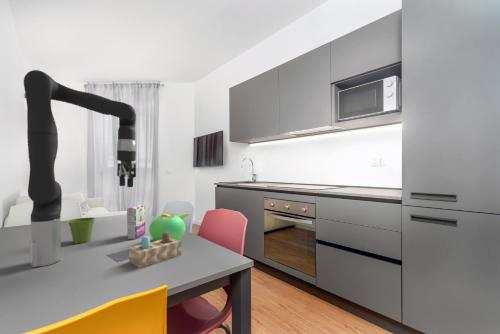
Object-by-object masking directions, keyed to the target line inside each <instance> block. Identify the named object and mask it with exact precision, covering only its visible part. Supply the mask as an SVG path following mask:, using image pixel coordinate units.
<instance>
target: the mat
mask: <svg viewBox="0 0 500 334" xmlns="http://www.w3.org/2000/svg"><path fill="white" fill-rule="evenodd" d="M105 256H106V257H108V258H110V259H112V260H113V261H114V262H117V263H119V262H124V261H127V260H129V248H128V249H124V250H120V251H115V252H112V253H109V254H105Z"/></svg>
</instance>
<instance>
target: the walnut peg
mask: <svg viewBox="0 0 500 334" xmlns="http://www.w3.org/2000/svg"><path fill="white" fill-rule="evenodd" d="M162 243H163V244H166V243H170V232H168V231H166V232H162Z"/></svg>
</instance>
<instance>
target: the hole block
mask: <svg viewBox="0 0 500 334" xmlns="http://www.w3.org/2000/svg"><path fill="white" fill-rule="evenodd" d="M128 249H129V259H128V262H129V263H130V264H132V265H133V266H136V267H137V268H139V269H141V268H145V267H147V266H150V265H153V264H154V265H155V264H157V263H160V262H163V261H165V260H169V259H173V258H175V257H178V256H182V241H181V240H180V239H178V240H176V239H173V238H170V243H166V244H163V243H162V239H161V240H157V241H156V240H154V241H150V248H148V249H144V250H142V244H138V245H135V246H131V247H128Z"/></svg>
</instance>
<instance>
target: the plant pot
mask: <svg viewBox="0 0 500 334" xmlns="http://www.w3.org/2000/svg"><path fill="white" fill-rule="evenodd" d="M95 220H96V217H79V218H73V219H69V220H67V223H68V225H69V227H70V232H71V233H70V234H71V236H72V237H71V238H72V242H73V243H74V244H79V243H80V244H83V243H88V242H89V241H91V240H92V239H91V238H92V232H93V226H94V224H95Z"/></svg>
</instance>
